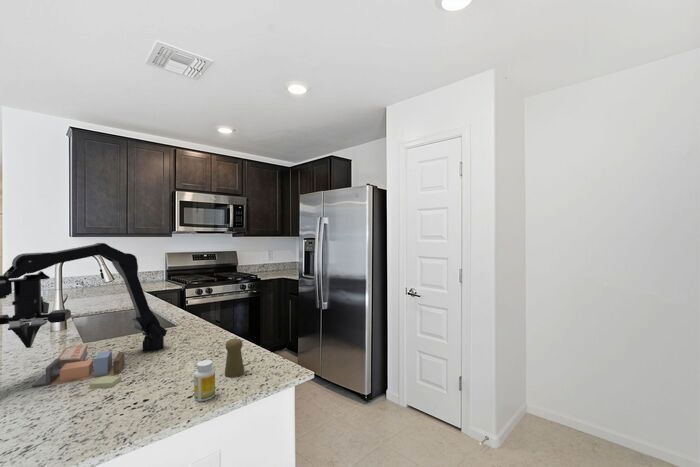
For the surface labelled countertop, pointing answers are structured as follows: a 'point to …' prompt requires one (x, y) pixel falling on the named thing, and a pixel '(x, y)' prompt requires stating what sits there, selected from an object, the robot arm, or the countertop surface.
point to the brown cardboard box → (76, 370)
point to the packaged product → (73, 354)
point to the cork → (234, 358)
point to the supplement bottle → (204, 381)
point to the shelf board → (115, 369)
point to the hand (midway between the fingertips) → (28, 347)
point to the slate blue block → (102, 363)
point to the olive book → (105, 382)
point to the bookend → (49, 374)
